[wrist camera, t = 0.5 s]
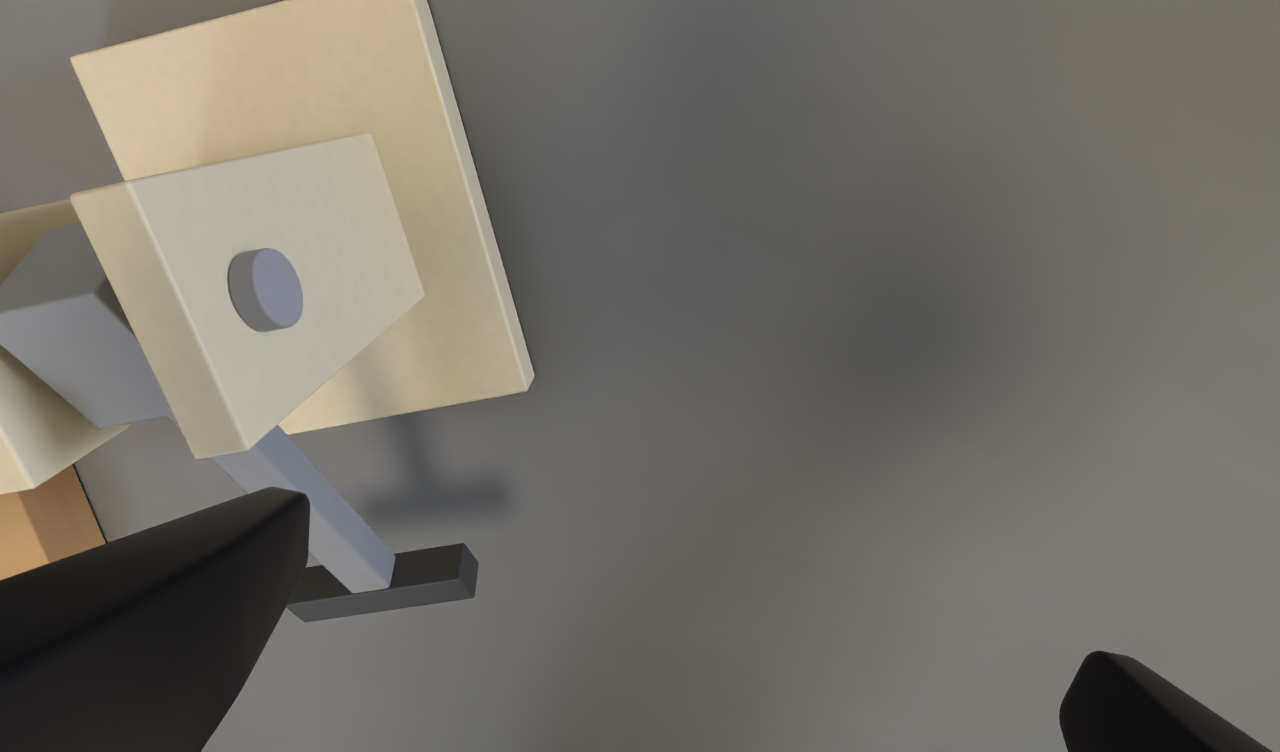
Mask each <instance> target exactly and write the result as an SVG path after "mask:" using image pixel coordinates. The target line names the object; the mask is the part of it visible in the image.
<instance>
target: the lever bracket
mask: <svg viewBox="0 0 1280 752" xmlns="http://www.w3.org/2000/svg"><path fill="white" fill-rule="evenodd" d="M70 61H71V63H72V66H73V68H74V70H75V72H76V74H77V77H78V79H79V81H80V83H81V86H82V88H83V90H84V92H85V94H86V97H87V99H88V101H89V103H90V105H91V108H92V110H93V112H94V114H95V116H96V119H97V121H98V123H99V125H100V127H101V130H102V132H103V134H104V136H105V139H106V141H107V143H108V145H109V147H110V150H111V152H112V154H113V156H114V158H115V161H116V163H117V165H118V167H119V169H120V172H121V174H122V176H123V178H124V181H123V182H118V183H114V184H110V185H106V186H101V187H97V188H93V189H89V190H84V191H80V192H76V193H73V194H72V195H70V196H69V197H70V198H69V199H65V200H60V201H55V202H50V203H46V204H41V205H36V206H31V207H27V208H22V209H17V210H12V211H8V212H3V213H0V285H1V284H2V283H3V281H4V280H5V279H6V278H7V277H8V276H9V274H10V273H11V272H12V271H13V270H14V268H15V267H16V266H17V265H18V264H19V263H20V261H21V260H22V259H23V258H24V257H25V255H26V254H27V253H28V252H29V251H30V249H31V248H32V247H33V246H34V245H35V244H36V242H37V241H38V240H39V239H40V238H41V236H42V235H43V234H44V233H45V232H46V231H47V230H49V229H53V228H58V227H62V226H66V225H71V224H75V223H79V222H81V224H82V226H83V228H84V230H85V232H86V234H87V236H88V238H89V240H90V242H91V244H92V246H93V249H94V251H95V253H96V255H97V257H98V259H99V261H100V263H101V265H102V267H103V269H104V271H105V273H106V275H107V278H108V280H109V282H110V284H111V286H112V288H113V290H114V292H115V294H116V296H117V298H118V300H119V302H120V304H121V307H122V309H123V311H124V313H125V315H126V317H127V319H128V321H129V323H130V325H131V327H132V329H133V331H134V333H135V336H136V338H137V340H138V342H139V344H140V346H141V348H142V350H143V352H144V354H145V356H146V358H147V360H148V362H149V365H150V367H151V369H152V371H153V373H154V375H155V377H156V379H157V381H158V383H159V385H160V387H161V389H162V391H163V394H164V396H165V398H166V400H167V402H168V404H169V406H170V408H171V410H172V412H173V414H174V416H175V418H176V421H177V423H178V425H179V427H180V429H181V431H182V433H183V435H184V437H185V439H186V441H187V443H188V445H189V447H190V450H191V452H192V454H193V456H194V457H195V458H196V459H202V458H208V457H213V456H219V455H224V454H230V453H235V452H241V451H247V450H249V449H250V448H251V447H252V446H254V445H255V444H256V443H257V442H258V441H259V440H260V439H262V438H263V437H264V436H265V435H266V434H267V433H269V432H270V431H271V430H272V429H273V428H274V427H275V426H277V425H279V426H280V427H281V428H282V430H283V431H284V432H285V433H286V434H287V435H289V434H294V433H300V432H305V431H311V430H316V429H322V428H327V427H333V426H339V425H344V424H350V423H355V422H361V421H366V420H372V419H377V418H383V417H388V416H394V415H399V414H405V413H410V412H416V411H421V410H427V409H432V408H438V407H444V406H449V405H455V404H460V403H466V402H471V401H477V400H482V399H488V398H493V397H499V396H504V395H510V394H515V393H521V392H526V391H527V390H528V389H529V387H530V385H531V383H532V380H533V378H534V372H533V368H532V365H531V361H530V358H529V354H528V351H527V347H526V344H525V340H524V337H523V333H522V330H521V326H520V323H519V319H518V316H517V312H516V309H515V305H514V302H513V298H512V295H511V291H510V288H509V284H508V281H507V277H506V274H505V270H504V267H503V263H502V260H501V256H500V253H499V249H498V246H497V242H496V239H495V235H494V232H493V228H492V225H491V221H490V218H489V214H488V211H487V207H486V204H485V200H484V197H483V194H482V190H481V187H480V183H479V180H478V176H477V173H476V169H475V166H474V162H473V159H472V155H471V152H470V148H469V145H468V141H467V138H466V134H465V131H464V127H463V124H462V120H461V117H460V113H459V110H458V106H457V103H456V99H455V96H454V92H453V89H452V85H451V82H450V78H449V75H448V71H447V68H446V64H445V61H444V57H443V54H442V50H441V47H440V43H439V40H438V36H437V33H436V29H435V26H434V22H433V19H432V15H431V12H430V9H429V5H428V2H427V0H284V1H280V2H276V3H272V4H269V5H265V6H261V7H257V8H253V9H250V10H246V11H242V12H238V13H234V14H230V15H227V16H223V17H219V18H215V19H211V20H208V21H204V22H200V23H196V24H192V25H189V26H185V27H181V28H177V29H173V30H169V31H166V32H162V33H158V34H154V35H150V36H147V37H143V38H139V39H135V40H131V41H128V42H124V43H120V44H116V45H112V46H108V47H105V48H101V49H97V50H93V51H89V52H86V53H82V54H78V55H74V56H72V57H71V58H70ZM135 423H137V422H133V423H127V424H122V425H117V426H111V427H106V428H98V427H97V426H96V425H95V424H93V423H92V422H91V421H90V420H89V419H87V418H86V417H85V416H84V415H83V414H82V413H80V412H79V411H78V410H77V409H76V408H75V407H73V406H72V405H71V404H70V403H69V402H67V401H66V400H65V399H64V398H63V397H62V396H60V395H59V394H58V393H57V392H56V391H55V390H53V389H52V388H51V387H50V386H49V385H48V384H46V383H45V382H44V381H43V380H42V379H40V378H39V377H38V376H37V375H36V374H35V373H33V372H32V371H31V370H30V369H29V368H28V367H26V366H25V365H24V364H23V363H22V362H21V361H19V360H18V359H17V358H16V357H15V356H13V355H12V354H11V353H10V352H9V351H8V350H6V349H5V348H4V347H3V346H2V345H1V344H0V495H1V494H6V493H12V492H18V491H23V490H29V489H34V488H36V487H37V486H39V485H41V484H42V483H44V482H45V481H47V480H48V479H50V478H51V477H53V476H54V475H56V474H58V473H59V472H61V471H62V470H64V469H65V468H67V467H68V466H70V465H72V464H73V463H75V462H76V461H78V460H79V459H81V458H82V457H84V456H85V455H87V454H89V453H90V452H92V451H93V450H95V449H96V448H98V447H99V446H101V445H103V444H104V443H106V442H107V441H109V440H110V439H112V438H113V437H115V436H117V435H118V434H120V433H121V432H123V431H124V430H126V429H127V428H129V427H130V426H132V425H134V424H135Z"/></svg>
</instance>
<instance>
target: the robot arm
mask: <svg viewBox="0 0 1280 752" xmlns="http://www.w3.org/2000/svg"><path fill="white" fill-rule="evenodd" d="M309 527H310V501H309V498H308V496H307V495H306V494H305V493H303V492H299V491H294V490H289V489H284V488H279V487H267V488H264V489H261V490H258V491H255V492H252V493H250V494H247V495H244V496H241V497H238V498H235V499H232V500H229V501H227V502H224V503H221V504H218V505H215V506H212V507H209V508H207V509H204V510H201V511H198V512H195V513H192V514H189V515H186V516H184V517H181V518H178V519H175V520H172V521H169V522H166V523H163V524H161V525H158V526H155V527H152V528H149V529H146V530H143V531H140V532H138V533H135V534H132V535H129V536H126V537H123V538H120V539H117V540H115V541H112V542H109V543H106V544H103V545H100V546H97V547H94V548H92V549H89V550H86V551H83V552H80V553H77V554H74V555H71V556H69V557H66V558H63V559H60V560H57V561H54V562H51V563H48V564H46V565H43V566H40V567H37V568H34V569H31V570H28V571H25V572H23V573H20V574H17V575H14V576H11V577H8V578H5V579H2V580H0V752H201V750H202V749H203V747H204V746H205V744H206V743H207V741H208V740H209V738H210V737H211V735H212V734H213V733H214V731H215V730H216V728H217V727H218V725H219V724H220V722H221V721H222V719H223V718H224V716H225V715H226V713H227V712H228V710H229V709H230V707H231V706H232V704H233V702H234V701H235V699H236V698H237V696H238V695H239V693H240V691H241V689H242V687H243V686H244V684H245V682H246V680H247V679H248V677H249V675H250V673H251V671H252V669H253V668H254V666H255V664H256V662H257V660H258V658H259V656H260V654H261V653H262V651H263V649H264V647H265V645H266V643H267V641H268V639H269V638H270V636H271V634H272V632H273V630H274V628H275V626H276V624H277V623H278V621H279V619H280V617H281V615H282V613H283V611H284V609H285V608H286V606H287V604H288V602H289V600H290V598H291V596H292V594H293V593H294V591H295V589H296V587H297V585H298V583H299V581H300V579H301V577H302V575H303V573H304V570H305V567H306V564H307V559H308V550H309ZM1059 718H1060V726H1061V730H1062V733H1063V737H1064V740H1065V743H1066V746H1067V750H1068V752H1272V751H1271V750H1269V749H1268V748H1266V747H1265V746H1263V745H1262V744H1260V743H1259V742H1258V741H1256V740H1255V739H1253V738H1252V737H1250V736H1249V735H1247V734H1246V733H1244V732H1243V731H1241V730H1240V729H1238V728H1237V727H1235V726H1234V725H1232V724H1231V723H1229V722H1228V721H1226V720H1225V719H1223V718H1222V717H1220V716H1219V715H1217V714H1216V713H1214V712H1213V711H1211V710H1210V709H1209V708H1207V707H1206V706H1204V705H1203V704H1201V703H1200V702H1198V701H1197V700H1195V699H1194V698H1192V697H1191V696H1189V695H1188V694H1186V693H1185V692H1183V691H1182V690H1180V689H1179V688H1177V687H1176V686H1174V685H1173V684H1171V683H1170V682H1168V681H1167V680H1165V679H1164V678H1162V677H1161V676H1160V675H1158V674H1157V673H1155V672H1154V671H1152V670H1151V669H1149V668H1148V667H1146V666H1145V665H1143V664H1142V663H1140V662H1139V661H1137V660H1135V659H1134V658H1131V657H1128V656H1125V655H1119V654H1114V653H1109V652H1104V651H1095V652H1092V653H1090V654H1089V655H1088V656H1086V658H1085V659H1084V661H1083V663H1082V664H1081V666H1080V668H1079V670H1078V672H1077V674H1076V676H1075V678H1074V680H1073V682H1072V684H1071V685H1070V687H1069V689H1068V691H1067V693H1066V695H1065V697H1064V699H1063V701H1062V703H1061V707H1060V715H1059Z"/></svg>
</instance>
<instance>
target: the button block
mask: <svg viewBox="0 0 1280 752" xmlns="http://www.w3.org/2000/svg"><path fill="white" fill-rule="evenodd" d="M103 544H106V543H105V540H104V538H103V536H102V533H101V531H100V528H99V526H98V524H97V521H96V519H95V517H94V514H93V512H92V510H91V507H90V505H89V503H88V500H87V498H86V495H85V493H84V491H83V488H82V486H81V484H80V481H79V479H78V477H77V474H76V472H75V470H74V467H73V465H70V466H68V467H67V468H65V469H64V470H62V471H61V472H59V473H58V474H56V475H54V476H53V477H51V478H50V479H48V480H47V481H45V482H44V483H42V484H41V485H39V486H37V487H36V488H34V489H29V490H23V491H18V492H12V493H6V494H1V495H0V580H2V579H5V578H8V577H11V576H14V575H17V574H20V573H23V572H25V571H28V570H31V569H34V568H37V567H40V566H43V565H46V564H48V563H51V562H54V561H57V560H60V559H63V558H66V557H69V556H71V555H74V554H77V553H80V552H83V551H86V550H89V549H92V548H94V547H97V546H100V545H103Z"/></svg>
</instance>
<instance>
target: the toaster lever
mask: <svg viewBox="0 0 1280 752" xmlns="http://www.w3.org/2000/svg"><path fill="white" fill-rule="evenodd" d="M0 344H1V345H2V346H3V347H4V348H5V349H6V350H8V351H9V352H10V353H11V354H12V355H13V356H15V357H16V358H17V359H18V360H19V361H21V362H22V363H23V364H24V365H25V366H26V367H28V368H29V369H30V370H31V371H32V372H33V373H35V374H36V375H37V376H38V377H39V378H40V379H42V380H43V381H44V382H45V383H46V384H48V385H49V386H50V387H51V388H52V389H53V390H55V391H56V392H57V393H58V394H59V395H60V396H62V397H63V398H64V399H65V400H66V401H67V402H69V403H70V404H71V405H72V406H73V407H75V408H76V409H77V410H78V411H79V412H80V413H82V414H83V415H84V416H85V417H86V418H87V419H89V420H90V421H91V422H92V423H93V424H95V425H96V426H97V427H98V428H106V427H111V426H117V425H122V424H127V423H133V422H138V421H143V420H149V419H154V418H159V417H164V416H166V417H167V418H168V419H170V420H171V421H172V422H173V423H174V424H175V425H176V426H177V427H178V428H179V429H180V427H179V425H178V423H177V421H176V418H175V416H174V414H173V412H172V410H171V408H170V406H169V404H168V402H167V400H166V398H165V396H164V394H163V391H162V389H161V387H160V385H159V383H158V381H157V379H156V377H155V375H154V373H153V371H152V369H151V367H150V365H149V362H148V360H147V358H146V356H145V354H144V352H143V350H142V348H141V346H140V344H139V342H138V340H137V338H136V336H135V333H134V331H133V329H132V327H131V325H130V323H129V321H128V319H127V317H126V315H125V313H124V311H123V309H122V307H121V304H120V302H119V300H118V298H117V296H116V294H115V292H114V290H113V288H112V286H111V284H110V282H109V280H108V278H107V275H106V273H105V271H104V269H103V267H102V265H101V263H100V261H99V259H98V257H97V255H96V253H95V251H94V249H93V246H92V244H91V242H90V240H89V238H88V236H87V234H86V232H85V230H84V228H83V226H82V224H81V222H79V223H75V224H71V225H66V226H62V227H58V228H53V229H49V230H47V231H46V232H45V233H44V234H43V235H42V236H41V238H40V239H39V240H38V241H37V242H36V244H35V245H34V246H33V247H32V248H31V249H30V251H29V252H28V253H27V254H26V255H25V257H24V258H23V259H22V260H21V261H20V263H19V264H18V265H17V266H16V267H15V268H14V270H13V271H12V272H11V273H10V274H9V276H8V277H7V278H6V279H5V280H4V281H3V283H2V284H1V285H0ZM180 430H181V429H180ZM210 458H211V459H212V460H213V461H214V462H215V463H216V464H217V465H218V466H219V467H220V468H221V469H222V470H223V471H224V472H225V473H226V474H227V475H228V476H230V477H231V478H232V479H233V480H234V481H235V482H236V483H237V484H238V485H239V486H240V487H241V488H242V489H243V490H244V491H245V492H246V493H247V494H250V493H252V492H255V491H258V490H261V489H264V488H267V487H279V488H284V489H289V490H294V491H299V492H303V493H305V494H306V495H307V496H308V498H309V501H310V527H309V550H308V552H310V553H311V554H312V555H313V556H314V557H315V558H316V559H317V560H318V561H319V562H320V563H321V564H322V565H320V566H313V567H307V568H305V570H304V573H303V575H302V577H301V579H300V581H299V583H298V585H297V587H296V589H295V591H294V593H293V594H292V596H291V598H290V600H289V602H288V604H287V606H286V608H288V609H289V610H290V611H291V612H293V613H294V614H295V615H296V616H297V617H299V618H300V619H301V620H302V621H304V622H311V621H318V620H325V619H332V618H339V617H346V616H352V615H359V614H366V613H373V612H380V611H387V610H394V609H401V608H408V607H414V606H421V605H428V604H435V603H442V602H449V601H456V600H463V599H469V598H474V596H475V588H476V580H477V572H478V561H477V560H476V558H475V557H474V556H473V554H472V553H471V552H470V550H469V549H468V548H467V546H466V545H465V544H464V543H461V544H455V545H448V546H442V547H435V548H429V549H423V550H416V551H410V552H403V553H397V554H394V553H393V552H392V551H391V550H390V549H389V548H388V547H387V546H386V545H385V543H384V542H383V541H382V540H381V539H380V538H379V537H378V536H377V534H376V533H375V532H374V531H373V530H372V529H371V528H370V527H369V526H368V524H367V523H366V522H365V521H364V520H363V519H362V518H361V517H360V516H359V514H358V513H357V512H356V511H355V510H354V509H353V508H352V507H351V505H350V504H349V503H348V502H347V501H346V500H345V499H344V498H343V497H342V495H341V494H340V493H339V492H338V491H337V490H336V489H335V488H334V486H333V485H332V484H331V483H330V482H329V481H328V480H327V479H326V478H325V476H324V475H323V474H322V473H321V472H320V471H319V470H318V469H317V468H316V466H315V465H314V464H313V463H312V462H311V461H310V460H309V459H308V457H307V456H306V455H305V454H304V453H303V452H302V451H301V450H300V449H299V447H298V446H297V445H296V444H295V443H294V442H293V441H292V440H291V438H290V437H289V436H288V435H287V434H286V433H285V432H284V431H283V430H282V428H281V427H280V426H279V425H277V426H275V427H274V428H273V429H272V430H271V431H270V432H269V433H267V434H266V435H265V436H264V437H263V438H262V439H260V440H259V441H258V442H257V443H256V444H255V445H254V446H252V447H251V448H250V449H249V450H247V451H241V452H235V453H230V454H224V455H219V456H213V457H210Z"/></svg>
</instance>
